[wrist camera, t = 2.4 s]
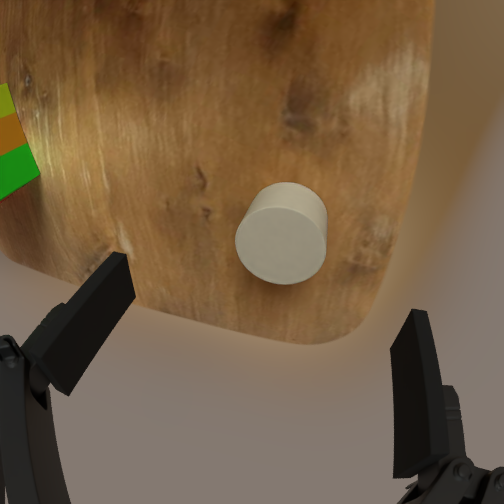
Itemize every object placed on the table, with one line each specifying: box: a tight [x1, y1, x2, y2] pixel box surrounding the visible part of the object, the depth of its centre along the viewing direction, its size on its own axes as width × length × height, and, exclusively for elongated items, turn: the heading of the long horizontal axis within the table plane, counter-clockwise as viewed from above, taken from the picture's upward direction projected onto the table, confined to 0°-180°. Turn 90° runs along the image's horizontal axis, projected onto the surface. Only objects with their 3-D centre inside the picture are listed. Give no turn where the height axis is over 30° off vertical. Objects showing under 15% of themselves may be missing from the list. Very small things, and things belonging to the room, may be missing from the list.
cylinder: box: [235, 182, 328, 284], centre depth 18 cm, size 5×5×4 cm
